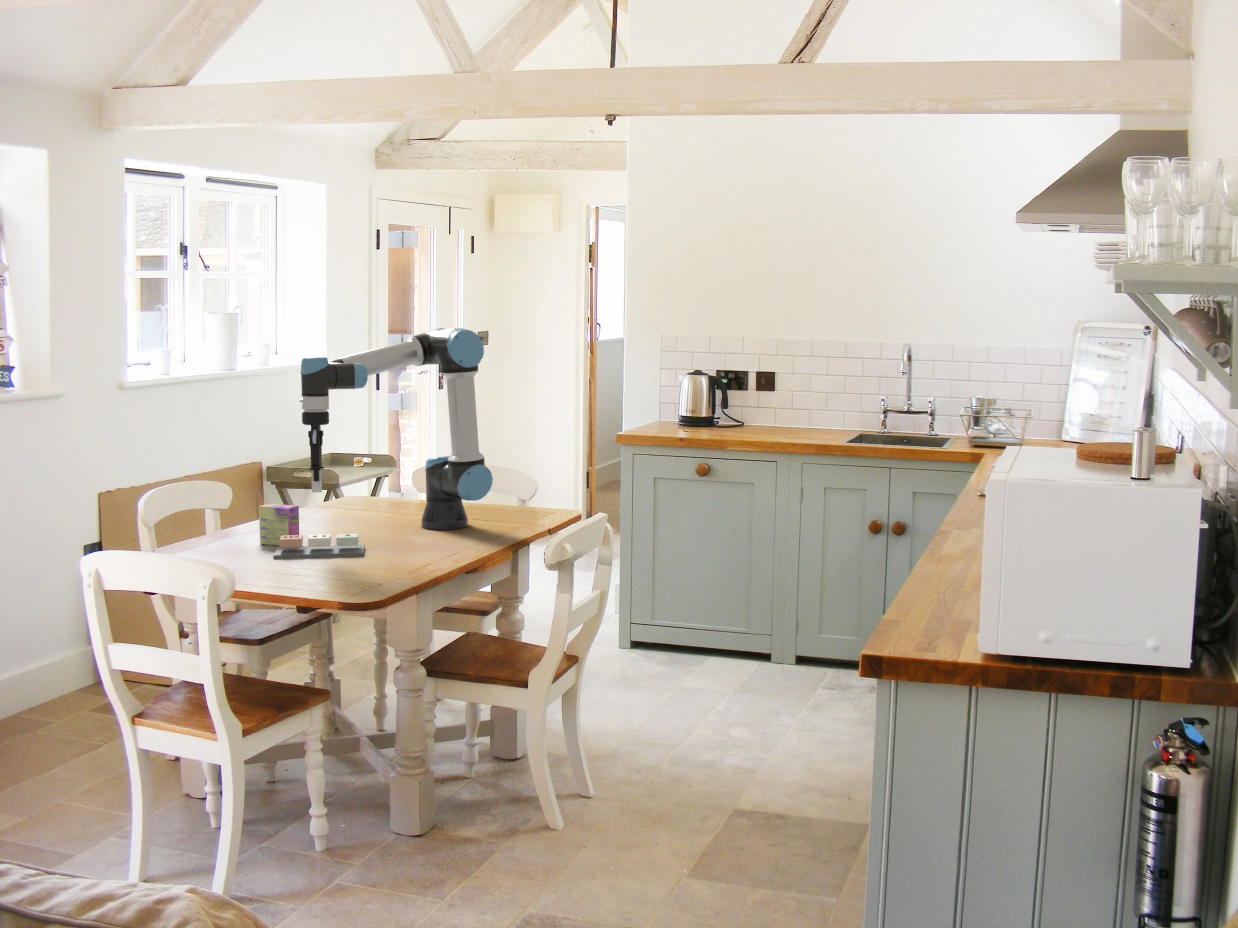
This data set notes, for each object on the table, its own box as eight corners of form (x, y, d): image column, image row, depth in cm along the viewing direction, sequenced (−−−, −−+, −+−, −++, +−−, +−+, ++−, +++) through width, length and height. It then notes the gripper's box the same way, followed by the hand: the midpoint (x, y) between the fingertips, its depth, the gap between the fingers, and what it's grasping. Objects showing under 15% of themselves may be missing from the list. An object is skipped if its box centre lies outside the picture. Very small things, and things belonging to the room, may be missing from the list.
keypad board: (364, 547, 357) (364, 544, 357) (362, 555, 345) (362, 552, 345) (278, 550, 353) (278, 547, 353) (273, 558, 341) (273, 555, 341)
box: (300, 543, 364) (299, 505, 362) (289, 546, 358) (287, 508, 357) (271, 541, 367) (269, 503, 365) (259, 544, 362) (258, 506, 360)
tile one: (358, 541, 354) (358, 532, 353) (357, 545, 348) (357, 536, 347) (337, 542, 353) (337, 533, 352) (336, 546, 347) (336, 537, 346)
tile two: (331, 542, 352) (330, 533, 352) (329, 546, 346) (329, 537, 346) (310, 543, 351) (309, 534, 351) (308, 547, 345) (308, 537, 345)
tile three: (303, 543, 351) (302, 534, 351) (301, 547, 345) (300, 538, 345) (281, 543, 350) (281, 534, 350) (279, 547, 344) (279, 538, 344)
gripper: (304, 409, 349) (305, 488, 352) (299, 412, 337) (301, 495, 340) (330, 408, 351) (331, 488, 354) (327, 412, 338) (328, 495, 341)
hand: (316, 491), depth 347 cm, fingers closed
